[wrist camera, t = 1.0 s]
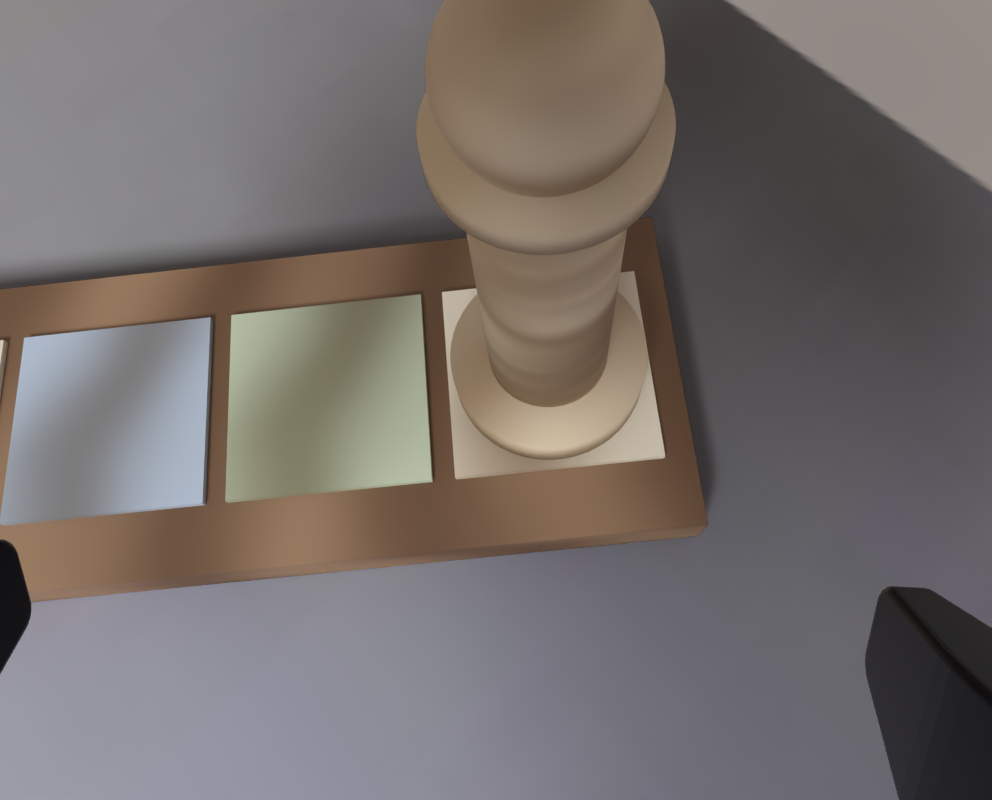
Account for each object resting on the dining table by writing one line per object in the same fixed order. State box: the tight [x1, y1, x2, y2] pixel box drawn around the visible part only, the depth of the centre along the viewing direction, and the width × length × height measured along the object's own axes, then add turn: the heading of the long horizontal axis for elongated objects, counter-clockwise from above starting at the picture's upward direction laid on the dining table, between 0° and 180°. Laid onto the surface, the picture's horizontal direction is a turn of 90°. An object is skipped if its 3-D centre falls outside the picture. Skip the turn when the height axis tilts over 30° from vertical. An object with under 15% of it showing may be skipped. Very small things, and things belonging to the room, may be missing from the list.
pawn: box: [416, 0, 676, 460], centre depth 16 cm, size 5×5×13 cm
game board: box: [0, 217, 708, 602], centre depth 23 cm, size 25×9×2 cm, turn 95°
